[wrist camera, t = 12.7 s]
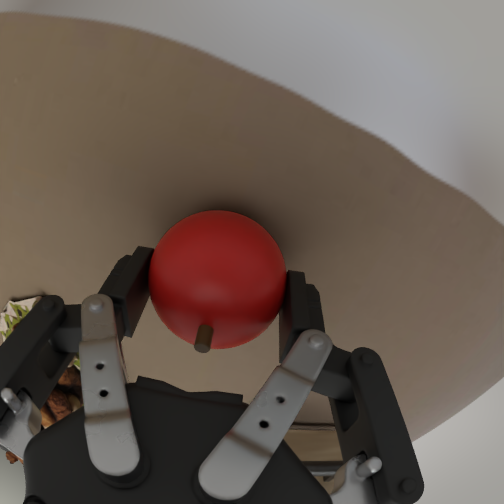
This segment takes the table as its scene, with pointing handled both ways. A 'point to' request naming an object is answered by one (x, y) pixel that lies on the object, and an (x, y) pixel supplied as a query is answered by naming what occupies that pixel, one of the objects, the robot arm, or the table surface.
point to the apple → (217, 279)
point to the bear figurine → (66, 389)
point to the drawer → (317, 453)
